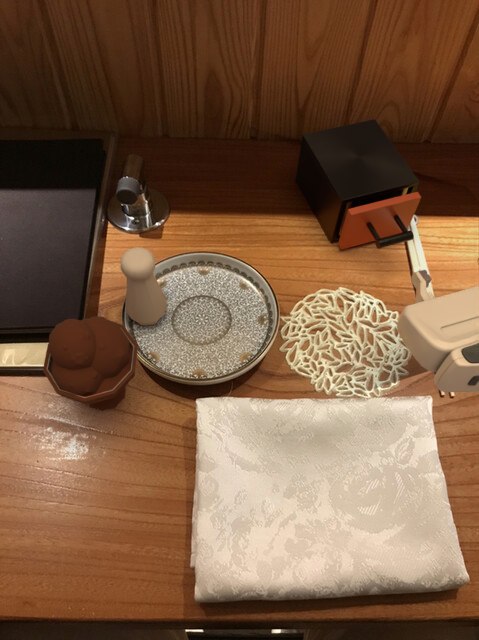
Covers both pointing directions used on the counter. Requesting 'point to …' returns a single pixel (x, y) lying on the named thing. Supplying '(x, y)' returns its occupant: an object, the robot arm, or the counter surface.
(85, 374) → the ice cream bowl
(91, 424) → the counter surface
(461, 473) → the counter surface
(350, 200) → the black drawer cabinet
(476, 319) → the robot arm
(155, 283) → the salt shaker
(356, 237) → the red drawer
